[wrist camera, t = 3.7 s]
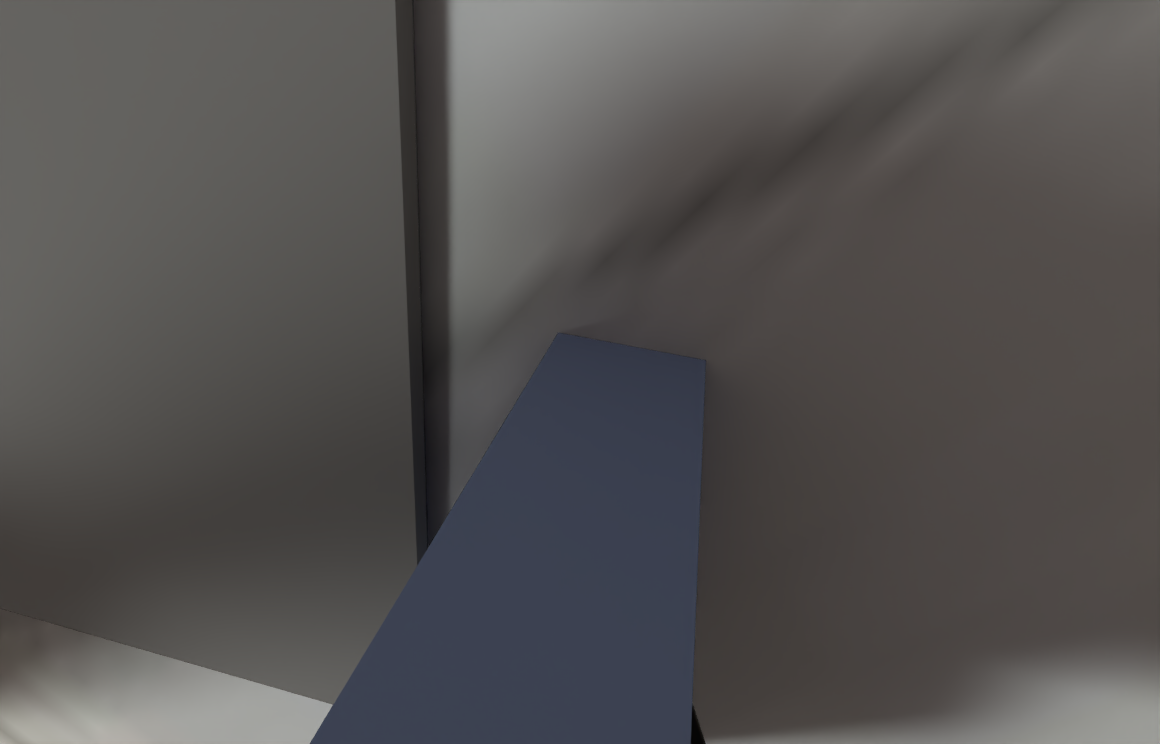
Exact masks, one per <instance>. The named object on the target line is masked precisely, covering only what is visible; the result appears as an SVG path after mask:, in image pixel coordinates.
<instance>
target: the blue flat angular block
mask: <svg viewBox="0 0 1160 744" xmlns="http://www.w3.org/2000/svg"><path fill="white" fill-rule="evenodd" d="M705 369H706V360H701V359H696V358H690V357H685V356H680V355H675V354H669V353H664V352H659V351H653V350H648V349H643V348H637V347H632V346H627V345H621V344H616V343H611V342H605V341H600V340H595V339H589V338H584V337H579V336H573V335H568V334H563V333H558V334H557V335H556V337H555V339H554V340H553V342H552V344H551V345H550V347H549V349H548V350H547V352H546V354H545V355H544V357H543V359H542V360H541V362H540V364H539V365H538V367H537V368H536V370H535V372H534V373H533V375H532V377H531V378H530V380H529V382H528V383H527V385H526V387H525V388H524V390H523V392H522V393H521V395H520V397H519V398H518V400H517V402H516V403H515V405H514V407H513V408H512V410H511V412H510V413H509V415H508V416H507V418H506V420H505V421H504V423H503V425H502V426H501V428H500V430H499V431H498V433H497V435H496V436H495V438H494V440H493V441H492V443H491V445H490V446H489V448H488V450H487V451H486V453H485V455H484V456H483V458H482V460H481V461H480V463H479V464H478V466H477V468H476V469H475V471H474V473H473V474H472V476H471V478H470V479H469V481H468V483H467V484H466V486H465V488H464V489H463V491H462V493H461V494H460V496H459V498H458V499H457V501H456V503H455V504H454V506H453V508H452V509H451V511H450V512H449V514H448V516H447V517H446V519H445V521H444V522H443V524H442V526H441V527H440V529H439V531H438V532H437V534H436V536H435V537H434V539H433V541H432V542H431V544H430V546H429V547H428V549H427V551H426V552H425V554H424V556H423V557H422V559H421V560H420V562H419V564H418V565H417V567H416V569H415V570H414V572H413V574H412V575H411V577H410V579H409V580H408V582H407V584H406V585H405V587H404V589H403V590H402V592H401V594H400V595H399V597H398V599H397V600H396V602H395V604H394V605H393V607H392V608H391V610H390V612H389V613H388V615H387V617H386V618H385V620H384V622H383V623H382V625H381V627H380V628H379V630H378V632H377V633H376V635H375V637H374V638H373V640H372V642H371V643H370V645H369V647H368V648H367V650H366V652H365V653H364V655H363V656H362V658H361V660H360V661H359V663H358V665H357V666H356V668H355V670H354V671H353V673H352V675H351V676H350V678H349V680H348V681H347V683H346V685H345V686H344V688H343V690H342V691H341V693H340V695H339V696H338V698H337V700H336V701H335V703H334V704H333V706H332V708H331V709H330V711H329V713H328V714H327V716H326V718H325V719H324V721H323V723H322V724H321V726H320V728H319V729H318V731H317V733H316V734H315V736H314V738H313V739H312V741H311V743H310V744H691V721H692V696H693V671H694V646H695V620H696V595H697V570H698V545H699V520H700V495H701V470H702V444H703V419H704V394H705Z"/></svg>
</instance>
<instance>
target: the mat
mask: <svg viewBox="0 0 1160 744" xmlns="http://www.w3.org/2000/svg"><path fill="white" fill-rule="evenodd" d="M426 551H427V517H426V480H425V443H424V406H423V369H422V332H421V295H420V258H419V221H418V184H417V147H416V110H415V73H414V36H413V0H0V608H1V609H4V610H8V611H11V612H14V613H18V614H21V615H25V616H28V617H32V618H35V619H39V620H42V621H46V622H49V623H53V624H56V625H59V626H63V627H66V628H70V629H73V630H77V631H80V632H84V633H87V634H91V635H94V636H98V637H101V638H104V639H108V640H111V641H115V642H118V643H122V644H125V645H129V646H132V647H136V648H139V649H143V650H146V651H150V652H153V653H156V654H160V655H163V656H167V657H170V658H174V659H177V660H181V661H184V662H188V663H191V664H195V665H198V666H201V667H205V668H208V669H212V670H215V671H219V672H222V673H226V674H229V675H233V676H236V677H240V678H243V679H247V680H250V681H253V682H257V683H260V684H264V685H267V686H271V687H274V688H278V689H281V690H285V691H288V692H292V693H295V694H298V695H302V696H305V697H309V698H312V699H316V700H319V701H323V702H326V703H330V704H334V703H335V701H336V700H337V698H338V696H339V695H340V693H341V691H342V690H343V688H344V686H345V685H346V683H347V681H348V680H349V678H350V676H351V675H352V673H353V671H354V670H355V668H356V666H357V665H358V663H359V661H360V660H361V658H362V656H363V655H364V653H365V652H366V650H367V648H368V647H369V645H370V643H371V642H372V640H373V638H374V637H375V635H376V633H377V632H378V630H379V628H380V627H381V625H382V623H383V622H384V620H385V618H386V617H387V615H388V613H389V612H390V610H391V608H392V607H393V605H394V604H395V602H396V600H397V599H398V597H399V595H400V594H401V592H402V590H403V589H404V587H405V585H406V584H407V582H408V580H409V579H410V577H411V575H412V574H413V572H414V570H415V569H416V567H417V565H418V564H419V562H420V560H421V559H422V557H423V556H424V554H425V552H426Z"/></svg>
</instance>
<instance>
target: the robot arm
mask: <svg viewBox="0 0 1160 744" xmlns="http://www.w3.org/2000/svg"><path fill="white" fill-rule="evenodd" d="M691 744H706V743H705V740H704V737H703V734H702V731H701V728H700V725H699V722H698V718H697V715H696V712H695V709H694V706H693V703H692V721H691Z"/></svg>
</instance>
